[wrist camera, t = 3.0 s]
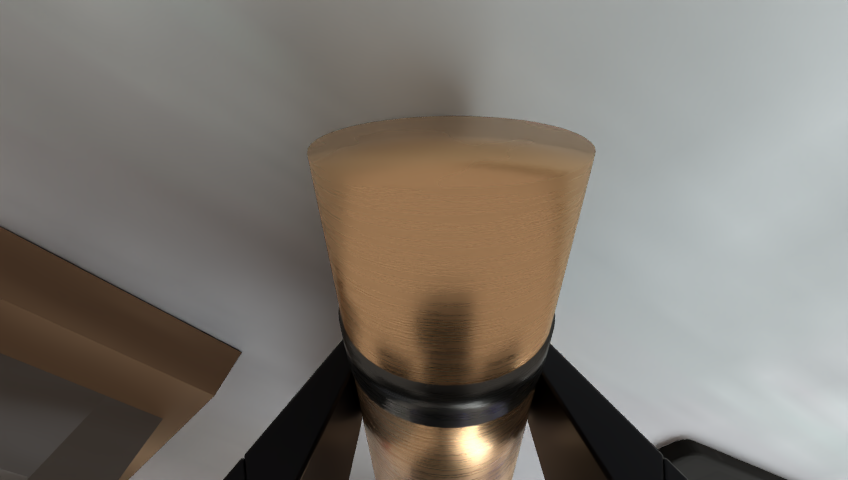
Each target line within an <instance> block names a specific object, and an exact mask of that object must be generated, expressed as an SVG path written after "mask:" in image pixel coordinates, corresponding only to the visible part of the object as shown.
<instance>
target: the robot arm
mask: <svg viewBox="0 0 848 480" xmlns="http://www.w3.org/2000/svg"><path fill="white" fill-rule="evenodd" d="M527 419H528V423H529V427H530V431H531V434H532V437H533V441H534V444H535V447H536V451H537V454H538V457H539V461H540V464H541V468H542V471H543V474H544V478H545V480H688V479H687V478H686V477H685V476H684V475H683V474H682V473H681V472H680V471H679V470H678V469H677V468H676V467H675V466H674V465H673V464H672V463H671V462H670V461H669V460H668V459H667V458H663V455H662V453H661V452H660V451H659V450H658V449H657V448H656V447H655V446H654V445H653V444H652V443H650V442H649V441H648V440H647V439H646V438H645V437H644V436H643V435H642V434H641V433H640V432H639V431H638V430H637V429H636V428H635V427H634V426H633V425H632V424H631V423H630V422H629V421H628V420H627V419H626V418H625V417H624V416H623V415H622V414H621V413H620V412H619V411H618V410H617V409H616V408H615V407H614V406H613V405H612V404H611V403H610V402H609V401H608V400H607V399H606V398H605V397H604V396H603V395H602V394H601V393H600V392H599V391H598V390H597V389H596V388H595V387H594V386H593V385H592V384H591V383H590V382H589V381H588V380H587V379H586V378H585V377H584V376H583V375H582V374H581V373H580V372H579V371H578V370H577V369H576V368H574V367H573V366H572V365H571V364H570V363H569V362H568V361H567V360H566V359H565V358H564V357H563V356H562V355H561V354H560V353H559V352H558V351H557V350H556V349H555V348H554V347H553V346H552V345H551V344H550V345H549V348H548V352H547V356H546V360H545V364H544V367H543V371H542V374H541V377H540V379H539V381H538V383H537V385H536V387H535V391H534V395H533V399H532V403H531V407H530V411H529V414H528V418H527ZM361 422H362V412H361V407H360V403H359V398H358V393H357V388H356V384H355V379H354V376H353V374H352V372H351V369H350V366H349V362H348V358H347V354H346V349H345V345H344V340H342V341H341V342H340V343H339V344H338V346H337V347H336V348H335V349H334V350H333V351H332V353H331V354H330V355H329V356H328V357H327V358H326V360H325V361H324V362H323V363H322V364H321V366H320V367H319V368H318V369H317V370H316V371H315V373H314V374H313V375H312V376H311V377H310V379H309V380H308V381H307V382H306V383H305V384H304V386H303V387H302V388H301V389H300V390H299V391H298V393H297V394H296V395H295V396H294V397H293V399H292V400H291V401H290V402H289V403H288V404H287V406H286V407H285V408H284V409H283V410H282V411H281V413H280V414H279V415H278V416H277V417H276V419H275V420H274V421H273V422H272V423H271V424H270V426H269V427H268V428H267V429H266V430H265V431H264V433H263V434H262V435H261V436H260V437H259V439H258V440H257V441H256V442H255V443H254V444H253V446H252V447H251V448H250V449H249V450H248V452H247V453H246V454H245V456H244V458H245V459H244V458H242V459H240V461H239V462H238V463H237V464H236V465H235V467H234V468H233V469H232V470H231V471H230V472H229V474H228V475H227V476H226V477H225V478H224V479H223V480H349V476H350V472H351V467H352V463H353V458H354V454H355V449H356V445H357V441H358V436H359V432H360V427H361Z"/></svg>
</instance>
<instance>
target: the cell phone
mask: <svg viewBox="0 0 848 480" xmlns="http://www.w3.org/2000/svg"><path fill="white" fill-rule="evenodd" d="M659 451H660V452H661V453H662V455H663V458H667V459H668V460H669V461H670V462H671V463H672V464H673V465H674V466H675V467H676V468H677V469H678V470H679V471H680V472H681V473H682V474H683V475H684V476H685V477H686V478H687V479H688V480H786V479H784V478H782V477H779V476H777V475H774V474H772V473H770V472H767V471H765V470H762V469H760V468H758V467H755V466H753V465H750V464H748V463H746V462H743V461H741V460H738V459H736V458H734V457H731V456H729V455H726V454H724V453H722V452H719V451H717V450H714V449H712V448H710V447H707V446H705V445H702V444H700V443H697V442H695V441H692V440H680V441H676V442H674V443H671V444H669V445H667V446H665V447H663V448H661V449H659Z"/></svg>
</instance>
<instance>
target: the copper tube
mask: <svg viewBox="0 0 848 480" xmlns="http://www.w3.org/2000/svg"><path fill="white" fill-rule="evenodd" d="M595 152H596V151H595V147H594V145H593V144H592V143H591V142H590V141H589V140H587V139H586V138H585V137H583V136H581V135H579V134H577V133H574V132H571V131H569V130H566V129H562V128H559V127H555V126H551V125H547V124H542V123H536V122H530V121H524V120H516V119H507V118H495V117H478V116H430V117H413V118H401V119H392V120H383V121H377V122H371V123H365V124H360V125H355V126H351V127H347V128H344V129H340V130H337V131H334V132H331V133H329V134H326V135H324V136H322V137H320V138H319V139H317V140H315V141H314V142H313V143H312V144H311V145H310V146H309V148H308V151H307V155H308V160H309V165H310V170H311V174H312V179H313V184H314V189H315V193H316V198H317V203H318V208H319V212H320V217H321V222H322V227H323V231H324V236H325V241H326V246H327V250H328V255H329V260H330V265H331V269H332V274H333V279H334V284H335V289H336V293H337V298H338V303H339V322H340V326H341V331H342V335H343V340H344V345H345V349H346V354H347V358H348V362H349V366H350V369H351V372H352V374H353V376H354V379H355V384H356V388H357V393H358V398H359V403H360V407H361V412H362V417H363V422H364V426H365V431H366V436H367V441H368V445H369V450H370V455H371V460H372V465H373V469H374V474H375V479H376V480H512V477H513V473H514V469H515V465H516V461H517V457H518V454H519V450H520V446H521V442H522V438H523V434H524V430H525V426H526V422H527V418H528V414H529V411H530V407H531V403H532V399H533V395H534V391H535V387H536V385H537V383H538V381H539V379H540V377H541V374H542V371H543V367H544V364H545V360H546V356H547V352H548V348H549V345H550V341H551V337H552V333H553V329H554V324H555V309H556V305H557V301H558V297H559V293H560V289H561V285H562V282H563V278H564V274H565V270H566V266H567V262H568V258H569V254H570V250H571V246H572V242H573V238H574V235H575V231H576V227H577V223H578V219H579V215H580V211H581V207H582V203H583V199H584V195H585V192H586V188H587V184H588V180H589V176H590V172H591V168H592V164H593V160H594V156H595Z"/></svg>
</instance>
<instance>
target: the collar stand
mask: <svg viewBox="0 0 848 480" xmlns="http://www.w3.org/2000/svg"><path fill="white" fill-rule="evenodd" d="M241 353H242V352H240V351H238V350H236V349H234V348H232V347H230V346H228V345H226V344H224V343H222V342H220V341H219V340H217V339H215V338H213V337H211V336H209V335H207V334H205V333H203V332H201V331H199V330H197V329H196V328H194V327H192V326H190V325H188V324H186V323H184V322H182V321H180V320H178V319H176V318H174V317H172V316H171V315H169V314H167V313H165V312H163V311H161V310H159V309H157V308H155V307H153V306H151V305H149V304H147V303H146V302H144V301H142V300H140V299H138V298H136V297H134V296H132V295H130V294H128V293H126V292H124V291H122V290H121V289H119V288H117V287H115V286H113V285H111V284H109V283H107V282H105V281H103V280H101V279H99V278H97V277H96V276H94V275H92V274H90V273H88V272H86V271H84V270H82V269H80V268H78V267H76V266H74V265H72V264H71V263H69V262H67V261H65V260H63V259H61V258H59V257H57V256H55V255H53V254H51V253H49V252H48V251H46V250H44V249H42V248H40V247H38V246H36V245H34V244H32V243H30V242H28V241H26V240H24V239H23V238H21V237H19V236H17V235H15V234H13V233H11V232H9V231H7V230H5V229H3V228H1V227H0V480H128V479H129V478H131V477H132V476H133V475H134V474H135V473H136V472H137V471H138V470H139V469H140V468H141V467H142V466H143V465H144V464H145V463H146V462H147V461H148V460H149V459H150V458H151V457H152V456H153V455H154V454H155V453H156V452H157V451H158V450H159V449H160V448H161V447H162V446H163V445H164V444H165V443H166V442H167V441H168V440H169V439H171V438H172V437H173V436H174V435H175V434H176V433H177V432H178V431H179V430H180V429H181V428H182V427H183V426H184V425H185V424H186V423H187V422H188V421H189V420H190V419H191V418H192V417H193V416H194V415H195V414H196V413H197V412H198V411H199V410H200V409H201V408H202V407H203V406H204V405H205V404H206V403H207V402H208V401H209V400H210V399H212V398H213V397H214V395H215V394H216V392H217V391H218V389H219V388H220V386H221V384H222V383H223V381H224V380H225V378H226V376H227V375H228V373H229V372H230V370H231V368H232V367H233V365H234V364H235V362H236V361H237V359H238V357H239V356H240V354H241Z"/></svg>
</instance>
